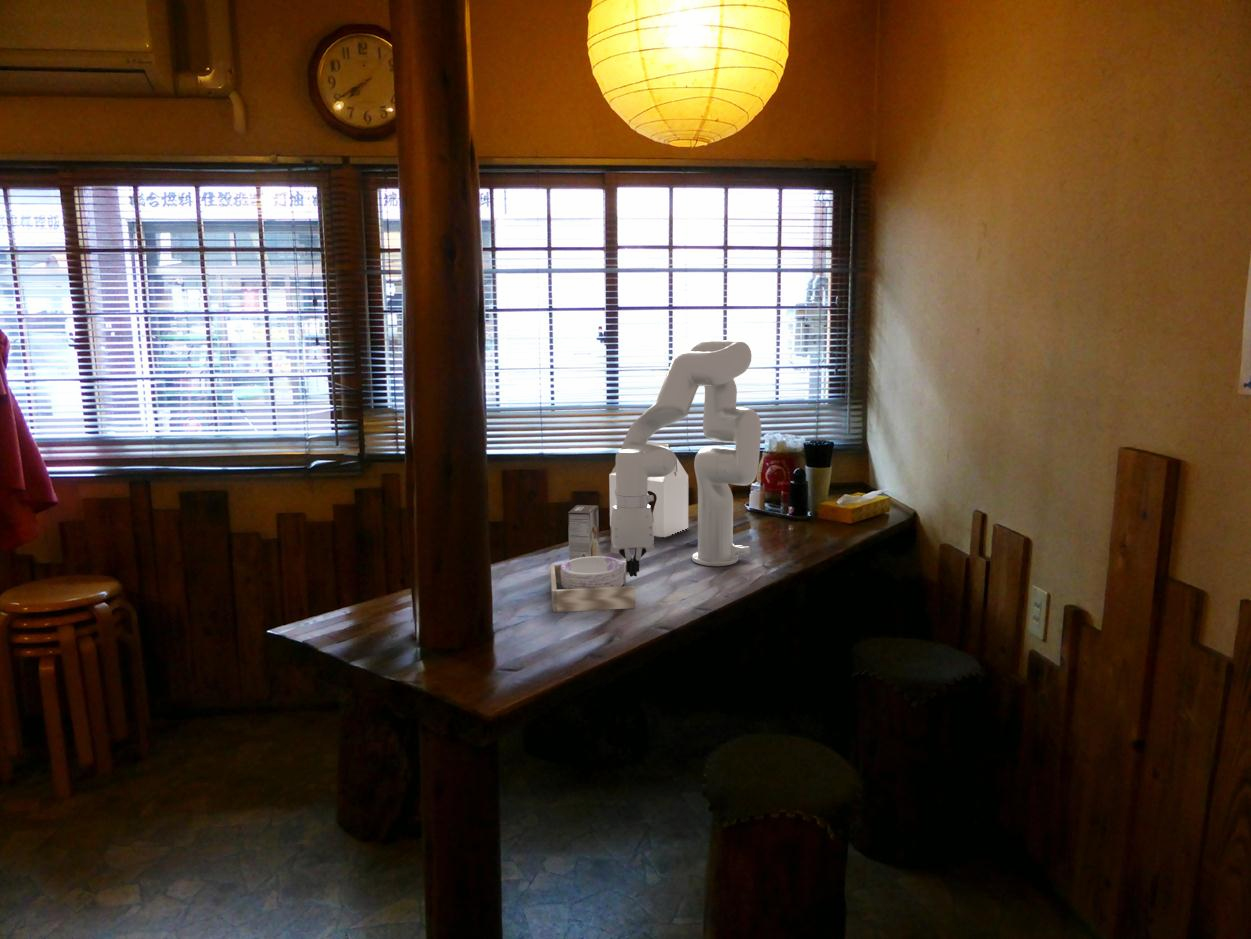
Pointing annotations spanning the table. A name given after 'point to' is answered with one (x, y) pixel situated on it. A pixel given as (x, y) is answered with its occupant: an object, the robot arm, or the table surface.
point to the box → (590, 595)
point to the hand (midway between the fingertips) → (632, 574)
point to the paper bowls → (592, 573)
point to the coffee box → (583, 531)
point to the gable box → (663, 499)
